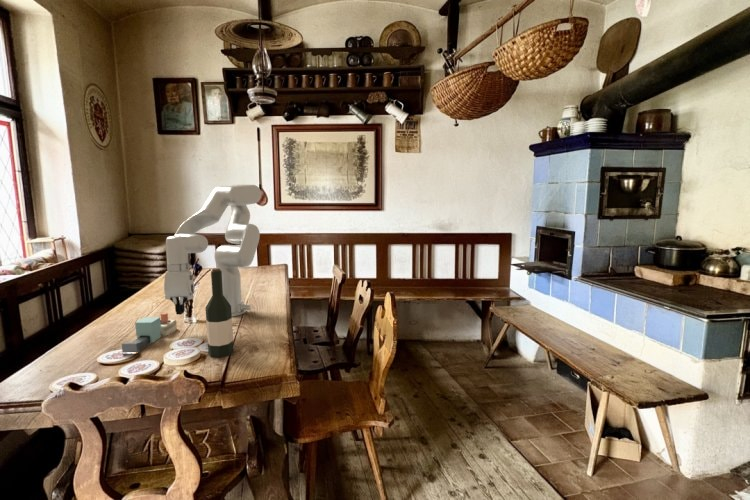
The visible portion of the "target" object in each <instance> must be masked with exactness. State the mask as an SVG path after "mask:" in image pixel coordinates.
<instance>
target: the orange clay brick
mask: <svg viewBox="0 0 750 500" xmlns="http://www.w3.org/2000/svg"><path fill="white" fill-rule="evenodd" d="M160 320H161V322H168V320H169V313H167V312H166V313H165V312H164V313H163V312H162V313H160Z"/></svg>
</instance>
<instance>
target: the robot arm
mask: <svg viewBox="0 0 750 500" xmlns="http://www.w3.org/2000/svg"><path fill="white" fill-rule="evenodd" d="M261 198H262V190H261V189H260V187H259V186H258V185H256V184H233V185H219V186H216V187H214V188H213V190H212V191H211V192H210V194H209V196H208V197H207V198H206V200H205V202H204V204H203V205H202V206H201V208H200V210H198V211H197V212H196V213H194V214H193V215H192V216H190V217H188V218H187V219H186V220H185V221H183V222H182V223H181V225H179V227H178V229H177V230H176V231H175V233H174V235H171V236H170V235H169V236H167V237H166V239H165V251H166V253H165V254H166V269H167V271H165V275H164V279H163V280H164V282H163V285H164V286H163V288H164V289H163V291H164V292H163V293H164V299H165V300H169V301H171V302H172V303H173V305H174V309H175V311H174V312H175V315H182V314H184V313H185V311H186V306H185V303H186V302H187V301H189V300H192V299H194V298H195V297H194V295H195V292H196V291H195V281H194V277H193V273H192V270H190V269H192V268H193V265H192V264H190V262H189V254H199V253H203V252H204V251H206V250H207V248H208V247H209V241H208V239H207V238H206V236H204V235H203V234H197V232H199V231H200V230H202V229H204V228H208V227H210V226H213V225H215V224H217V223H219V221H220V220H221V217H222V216H223V214H225V211H226V210H227V209H228V206H230V209H231V213H230V217H229V220H228V224H227V225H226V226H227V227H226V230H225V234H224V238H225V241H227V243H229V244H222V245H220V246H218V247H217V248H216V249H215V252H214V261H215V264H216V268H220V270H221V271H222V287H223V296H224V297H225V298H226V300H227V301H228V302H229V304H230V305H231V312H232V317H237V316H241V315H243V314H245V313H246V312H247V311H248V310H249V311H251V309H252V306H251V304H245V303H244V302H245V301H242V300H243V299H242V279H241V278H242V277H241V272H240V269H239V268H248V267H250V265H251V264H252V263H253V261H254V259H255V255H256V252H257V249H258V245H259V243H260V236H261V235H260V234H261V233H260V229H259V228H258V226H257V225H255V224H253V223H250V220H251V212H250V210H249V207H248V205H253V204H254V205H255V204H257V203H259V201H260V200H261ZM230 243H231V244H230ZM233 244H234V245H233ZM246 310H247V311H246Z"/></svg>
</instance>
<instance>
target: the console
mask: <svg viewBox="0 0 750 500" xmlns="http://www.w3.org/2000/svg"><path fill="white" fill-rule="evenodd" d="M160 323H161V330H160V332H161V337H168V336H170V335H171V334H173V333H174V332H175V331H177V326H178V325H177V319H168V322H161V319H160ZM173 331H174V332H173ZM170 333H171V334H170ZM167 335H168V336H167Z"/></svg>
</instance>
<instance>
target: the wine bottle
mask: <svg viewBox="0 0 750 500" xmlns="http://www.w3.org/2000/svg"><path fill="white" fill-rule="evenodd" d="M210 277H211V280H210V281H211V292H212V293H211V297H210V299H209V301H208V302H207V305H206V306H205V321H206V338H207V350H208V351H207V352H208V354H207V355H208V356H209V357H210V358H214V359H215V358H218V359H219V358H223V357H224V358H225V357H228V356H229V357H230V356H231V355H232V354H233V353H234V352H235V351H234V350H235V349H234V333H233V331H234V330H233V316H232V312H231V305H230V304H229V302H228V301H227V300H226V298H225V297H224V296H223V287H222V271H221V270H220V268H217V267H216V268H215V267H213V268H212V269H211V271H210Z"/></svg>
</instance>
